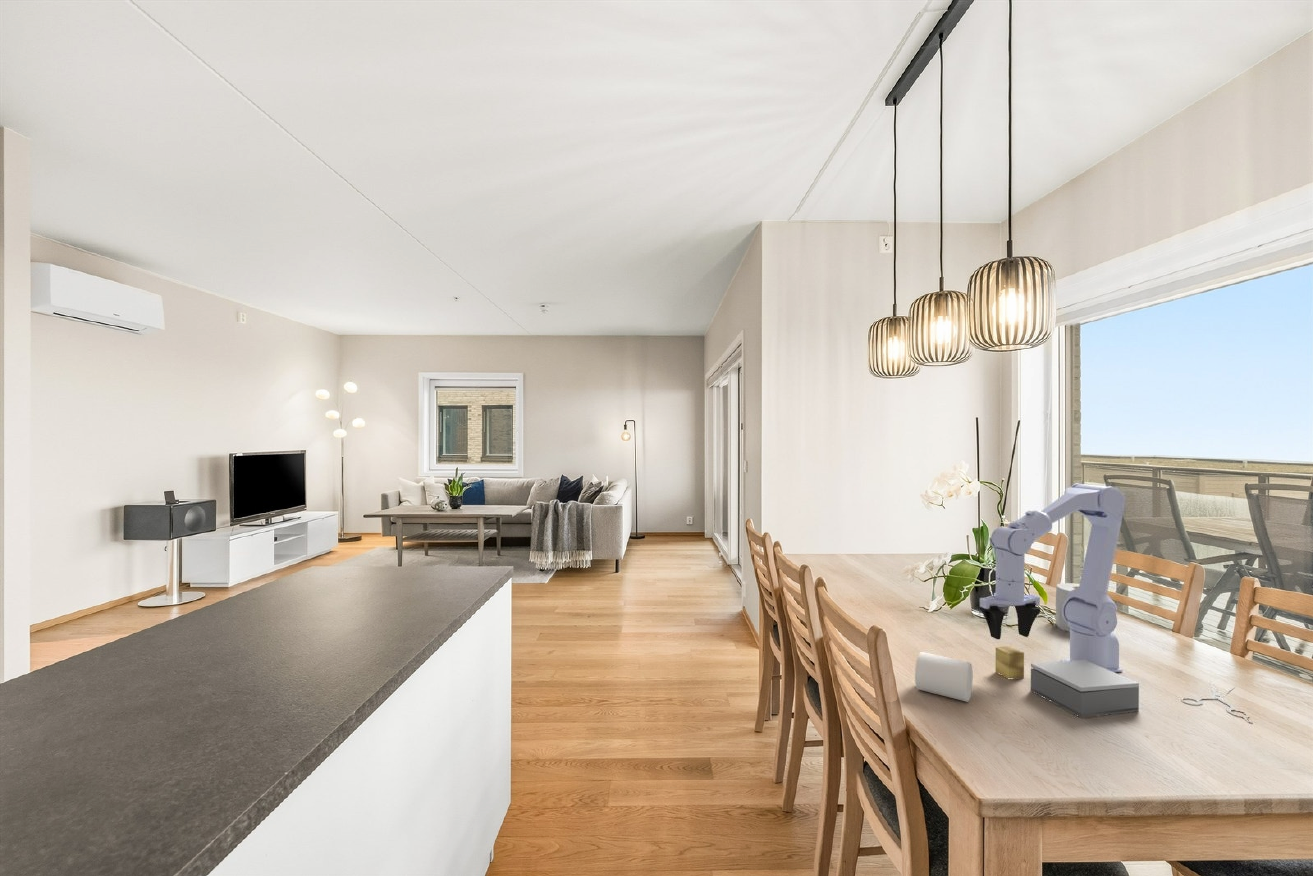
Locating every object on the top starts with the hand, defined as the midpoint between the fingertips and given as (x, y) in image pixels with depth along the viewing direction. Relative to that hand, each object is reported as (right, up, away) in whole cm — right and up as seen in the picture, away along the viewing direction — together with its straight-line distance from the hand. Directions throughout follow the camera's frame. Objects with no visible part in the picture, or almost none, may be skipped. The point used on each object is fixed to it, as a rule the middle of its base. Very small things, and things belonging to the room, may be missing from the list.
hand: (1009, 636), depth 133 cm
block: (0, -9, 0) cm, 9 cm away
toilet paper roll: (+40, -9, +31) cm, 51 cm away
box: (+8, -9, -13) cm, 17 cm away
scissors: (+37, -10, -12) cm, 40 cm away
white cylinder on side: (-19, -10, -8) cm, 22 cm away
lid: (+8, -4, -13) cm, 15 cm away
